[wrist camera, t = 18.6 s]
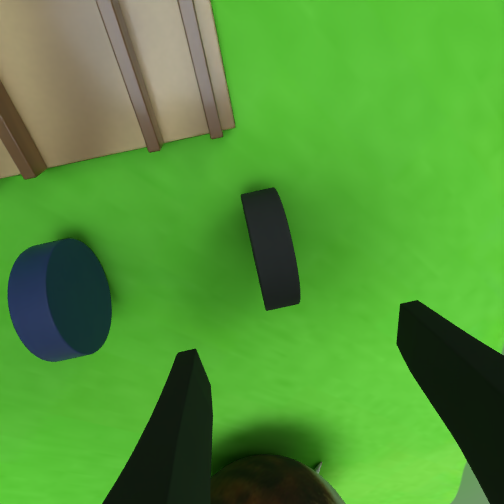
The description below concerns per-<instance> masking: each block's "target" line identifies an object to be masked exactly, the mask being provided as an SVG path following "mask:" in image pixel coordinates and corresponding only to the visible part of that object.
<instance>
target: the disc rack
mask: <svg viewBox="0 0 504 504" xmlns="http://www.w3.org/2000/svg"><path fill="white" fill-rule="evenodd" d="M232 128H235V122H234V117H233V112H232V107H231V102H230V97H229V92H228V87H227V82H226V77H225V72H224V66H223V61H222V56H221V51H220V46H219V41H218V36H217V31H216V26H215V21H214V16H213V11H212V6H211V1H210V0H0V179H1V178H5V177H10V176H15V175H19V174H21V175H22V176H23V178H24V179H31V178H35V177H37V176H38V175H40V174H41V173H42V172H44V171H45V170H46V169H47V168H52V167H56V166H61V165H65V164H70V163H75V162H79V161H84V160H89V159H93V158H98V157H102V156H107V155H112V154H116V153H121V152H125V151H130V150H135V149H139V148H144V147H147V149H148V151H149V152H150V153H151V152H155V151H160V150H161V148H162V146H163V144H164V143H167V142H172V141H176V140H181V139H185V138H190V137H195V136H199V135H204V134H209V133H210V137H211V139H216V138H220V137H223V132H222V130H227V129H232Z"/></svg>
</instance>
